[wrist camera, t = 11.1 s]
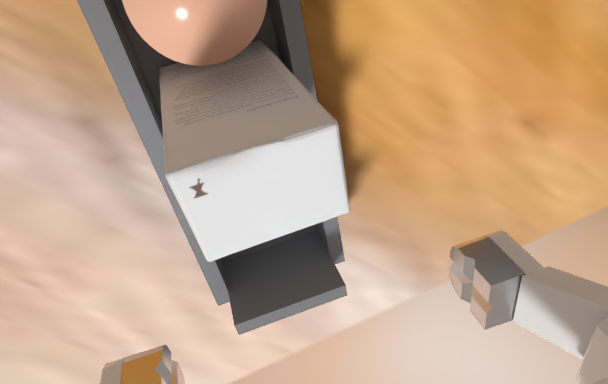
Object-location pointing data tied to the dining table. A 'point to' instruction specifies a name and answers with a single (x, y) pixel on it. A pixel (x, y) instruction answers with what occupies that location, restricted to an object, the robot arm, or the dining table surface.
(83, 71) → the dining table surface
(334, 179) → the skincare box
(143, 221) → the dining table surface
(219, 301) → the pusher lane
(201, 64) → the brown egg
